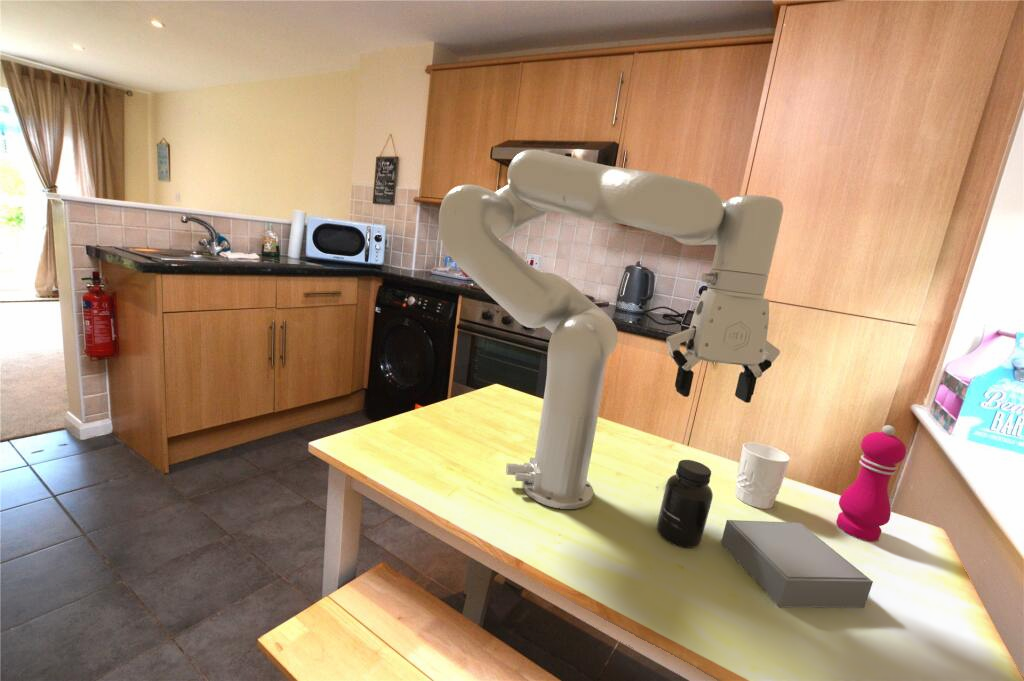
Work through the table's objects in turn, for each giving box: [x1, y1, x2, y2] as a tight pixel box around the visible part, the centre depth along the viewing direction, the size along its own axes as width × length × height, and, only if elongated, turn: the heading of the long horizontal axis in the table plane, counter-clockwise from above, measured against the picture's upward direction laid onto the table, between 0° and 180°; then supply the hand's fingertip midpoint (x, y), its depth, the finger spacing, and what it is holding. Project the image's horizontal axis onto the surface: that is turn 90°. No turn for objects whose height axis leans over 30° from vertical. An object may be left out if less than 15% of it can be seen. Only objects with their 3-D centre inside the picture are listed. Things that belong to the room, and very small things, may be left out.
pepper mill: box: [836, 424, 907, 542], centre depth 79 cm, size 7×7×20 cm
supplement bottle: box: [656, 459, 714, 549], centre depth 71 cm, size 7×7×12 cm
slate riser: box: [720, 519, 874, 608], centre depth 67 cm, size 13×13×4 cm
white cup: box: [734, 441, 791, 510], centre depth 87 cm, size 8×8×10 cm
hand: (712, 396), depth 70 cm, fingers open, 9 cm apart
